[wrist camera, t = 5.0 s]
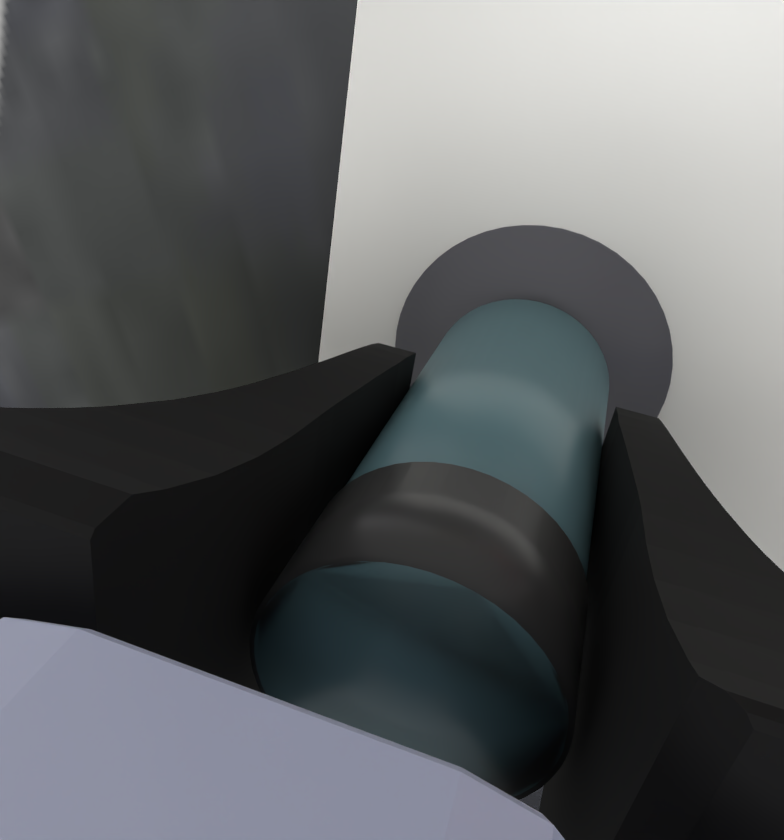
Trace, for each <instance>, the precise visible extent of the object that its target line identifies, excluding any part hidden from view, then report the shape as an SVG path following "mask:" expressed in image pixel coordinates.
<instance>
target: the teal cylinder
mask: <svg viewBox="0 0 784 840" xmlns="http://www.w3.org/2000/svg"><path fill="white" fill-rule="evenodd" d="M608 395H609V373H608V368H607V364H606V361H605V358H604V355H603V353H602V351H601V349H600V347H599V345H598V343H597V342H596V340H595V339H594V338H593V336H592V335H591V334H590V332H589V331H588V330H587V329H586V328H585V327H584V326H583V325H582V324H581V323H579V322H578V321H577V320H576V319H575V318H573V317H572V316H570V315H569V314H567V313H565V312H564V311H562V310H560V309H558V308H555V307H553V306H551V305H548V304H544V303H541V302H537V301H531V300H522V299H511V300H501V301H496V302H491V303H489V304H486V305H483V306H480V307H478V308H476V309H474V310H472V311H470V312H469V313H467V314H466V315H464V316H463V317H461V318H460V319H459V320H458V321H457V322H456V323H455V324H454V325H453V326H452V327H451V328H450V330H449V331H448V332H447V333H446V335H445V336H444V338H443V339H442V341H441V342H440V344H439V345H438V347H437V348H436V350H435V351H434V353H433V354H432V356H431V357H430V359H429V360H428V362H427V363H426V365H425V366H424V368H423V369H422V371H421V372H420V374H419V375H418V377H417V378H416V380H415V381H414V383H413V384H412V386H411V387H410V389H409V391H408V392H407V394H406V395H405V397H404V398H403V400H402V401H401V403H400V404H399V406H398V407H397V409H396V410H395V412H394V413H393V415H392V416H391V418H390V419H389V421H388V422H387V424H386V425H385V427H384V428H383V430H382V431H381V433H380V434H379V436H378V437H377V439H376V440H375V442H374V443H373V445H372V446H371V448H370V449H369V451H368V452H367V454H366V455H365V457H364V458H363V460H362V461H361V463H360V464H359V466H358V467H357V469H356V470H355V472H354V473H353V475H352V476H351V478H350V479H349V481H348V482H347V484H346V486H345V487H343V488H342V489H341V490H340V491H339V492H338V493H337V494H336V495H335V496H334V497H333V498H332V499H331V501H330V502H329V503H328V504H327V506H326V507H325V509H324V510H323V512H322V513H321V515H320V516H319V518H318V519H317V521H316V522H315V524H314V525H313V527H312V528H311V530H310V531H309V533H308V534H307V536H306V537H305V538H304V540H303V541H302V543H301V544H300V546H299V547H298V549H297V550H296V552H295V553H294V555H293V556H292V558H291V559H290V561H289V562H288V564H287V565H286V567H285V568H284V570H283V571H282V573H281V574H280V576H279V577H278V579H277V580H276V581H275V583H274V584H273V586H272V587H271V589H270V590H269V592H268V593H267V595H266V596H265V598H264V599H263V601H262V603H261V605H260V606H259V608H258V610H257V612H256V614H255V617H254V620H253V623H252V627H251V633H250V658H251V664H252V670H253V673H254V676H255V679H256V682H257V685H258V687H259V689H260V691H261V693H263V694H266V695H269V696H271V697H274V698H277V699H279V700H282V701H285V702H288V703H290V704H293V705H296V706H298V707H301V708H304V709H306V710H309V711H312V712H314V713H317V714H320V715H322V716H325V717H328V718H330V719H333V720H336V721H339V722H341V723H344V724H347V725H349V726H352V727H355V728H357V729H360V730H363V731H365V732H368V733H371V734H373V735H376V736H379V737H381V738H384V739H387V740H390V741H392V742H395V743H398V744H400V745H403V746H406V747H408V748H411V749H414V750H416V751H419V752H422V753H424V754H427V755H430V756H432V757H435V758H438V759H441V760H443V761H446V762H449V763H451V764H454V765H457V766H459V767H462V768H464V769H465V770H467V771H469V772H471V773H472V774H474V775H476V776H478V777H479V778H481V779H483V780H485V781H486V782H488V783H490V784H491V785H493V786H495V787H497V788H498V789H500V790H502V791H504V792H505V793H507V794H509V795H511V796H512V797H514V798H516V799H518V800H519V799H522V798H524V797H526V796H528V795H530V794H531V793H533V792H535V791H536V790H538V789H540V788H541V787H542V786H543V785H544V784H546V783H547V782H548V781H549V780H550V779H551V778H552V777H553V776H554V775H555V774H556V773H557V771H558V770H559V769H560V768H561V766H562V764H563V763H564V761H565V759H566V757H567V755H568V753H569V750H570V747H571V744H572V741H573V735H574V726H575V717H576V709H577V700H578V691H579V682H580V673H581V664H582V655H583V646H584V637H585V628H586V619H587V610H588V586H587V581H586V578H587V569H588V561H589V553H590V545H591V536H592V528H593V520H594V511H595V503H596V494H597V485H598V477H599V469H600V460H601V452H602V445H603V437H604V428H605V420H606V412H607V403H608Z"/></svg>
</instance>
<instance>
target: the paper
mask: <svg viewBox="0 0 784 840" xmlns="http://www.w3.org/2000/svg"><path fill="white" fill-rule="evenodd" d="M511 299H522V300H531V301H537V302H541V303H544V304H548V305H551V306H553V307H555V308H558V309H560V310H562V311H564V312H565V313H567V314H569V315H570V316H572V317H573V318H575V319H576V320H577V321H578V322H579V323H581V324H582V325H583V326H584V327H585V328H586V329H587V330H588V331H589V332H590V334H591V335H592V336H593V338H594V339H595V340H596V342H597V343H598V345H599V347H600V349H601V351H602V353H603V355H604V358H605V361H606V364H607V368H608V373H609V395H608V403H607V412H606V420H605V428H604V437H603V442H604V440H605V437H606V434H607V431H608V428H609V425H610V422H611V419H612V416H613V414H614V411H615V408H616V407H619V408H622V409H626V410H630V411H634V412H637V413H641V414H645V415H649V416H652V417H656V418H659V419H660V420H661V421H662V423H663V424H664V425H665V427H666V428H667V430H668V431H669V433H670V434H671V436H672V437H673V439H674V440H675V442H676V443H677V445H678V446H679V448H680V449H681V451H682V452H683V453H684V455H685V456H686V458H687V459H688V461H689V462H690V464H691V465H692V466H693V468H694V469H695V471H696V472H697V473H698V475H699V476H700V478H701V479H702V480H703V482H704V483H705V484H706V486H707V487H708V488H709V490H710V491H711V492H712V494H713V495H714V496H715V497H716V499H717V500H718V501H719V502H720V504H721V505H722V506H723V508H724V509H725V510H726V511H727V512H728V513H729V515H730V516H731V517H732V518H733V519H734V520H735V522H736V523H737V524H738V525H739V526H740V527H741V529H742V530H743V531H744V532H745V533H746V534H747V536H748V537H749V538H750V539H751V540H752V541H753V542H754V543H755V544H756V545H757V546H758V547H759V548H760V549H761V550H762V551H763V553H764V554H765V555H766V556H768V557H769V558H770V559H771V560H772V561H773V562H774V563H775V564H776V565H777V566H778V567H779V568H780V569H781V570H782V571H783V572H784V0H358V2H357V12H356V21H355V30H354V39H353V48H352V58H351V67H350V76H349V85H348V94H347V104H346V113H345V122H344V131H343V140H342V150H341V159H340V168H339V177H338V186H337V195H336V205H335V214H334V223H333V232H332V241H331V251H330V260H329V269H328V278H327V287H326V297H325V306H324V315H323V324H322V333H321V342H320V352H319V361H318V362H321V361H324V360H327V359H330V358H333V357H335V356H338V355H341V354H344V353H346V352H349V351H352V350H355V349H358V348H361V347H364V346H367V345H370V344H375V343H381V344H385V345H388V346H392V347H396V348H400V349H403V350H407V351H411V352H414V353H416V357H415V362H414V368H413V373H412V379H411V384H410V387H411V386H412V384H413V383H414V381H415V380H416V378H417V377H418V375H419V374H420V372H421V371H422V369H423V368H424V366H425V365H426V363H427V362H428V360H429V359H430V357H431V356H432V354H433V353H434V351H435V350H436V348H437V347H438V345H439V344H440V342H441V341H442V339H443V338H444V336H445V335H446V333H447V332H448V331H449V330H450V328H451V327H452V326H453V325H454V324H455V323H456V322H457V321H458V320H459V319H460V318H461V317H463V316H464V315H466V314H467V313H469V312H470V311H472V310H474V309H476V308H478V307H480V306H483V305H486V304H489V303H491V302H496V301H501V300H511Z"/></svg>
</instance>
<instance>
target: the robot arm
mask: <svg viewBox="0 0 784 840" xmlns="http://www.w3.org/2000/svg"><path fill="white" fill-rule="evenodd" d="M415 357H416V353H414V352H411V351H407V350H403V349H400V348H396V347H392V346H388V345H385V344H381V343H375V344H370V345H367V346H364V347H361V348H358V349H355V350H352V351H349V352H346V353H344V354H341V355H338V356H335V357H333V358H330V359H327V360H324V361H321V362H318V363H316V364H313V365H310V366H307V367H304V368H302V369H299V370H296V371H292V372H289V373H286V374H282V375H279V376H276V377H272V378H269V379H265V380H262V381H259V382H255V383H252V384H249V385H245V386H241V387H237V388H233V389H228V390H224V391H219V392H215V393H209V394H204V395H198V396H193V397H187V398H181V399H175V400H167V401H157V402H147V403H137V404H128V405H118V406H106V407H84V408H2V407H0V840H784V572H783V571H782V570H781V569H780V568H779V567H778V566H777V565H776V564H775V563H774V562H773V561H772V560H771V559H770V558H769V557H768V556H766V555H765V554H764V553H763V551H762V550H761V549H760V548H759V547H758V546H757V545H756V544H755V543H754V542H753V541H752V540H751V539H750V538H749V537H748V536H747V534H746V533H745V532H744V531H743V530H742V529H741V527H740V526H739V525H738V524H737V523H736V522H735V520H734V519H733V518H732V517H731V516H730V515H729V513H728V512H727V511H726V510H725V509H724V508H723V506H722V505H721V504H720V502H719V501H718V500H717V499H716V497H715V496H714V495H713V494H712V492H711V491H710V490H709V488H708V487H707V486H706V484H705V483H704V482H703V480H702V479H701V478H700V476H699V475H698V473H697V472H696V471H695V469H694V468H693V466H692V465H691V464H690V462H689V461H688V459H687V458H686V456H685V455H684V453H683V452H682V451H681V449H680V448H679V446H678V445H677V443H676V442H675V440H674V439H673V437H672V436H671V434H670V433H669V431H668V430H667V428H666V427H665V425H664V424H663V423H662V421H661V420H660V419H659V418H656V417H652V416H649V415H645V414H641V413H637V412H634V411H630V410H626V409H622V408H619V407H616V408H615V411H614V414H613V416H612V419H611V422H610V425H609V428H608V431H607V434H606V437H605V440H604V442H603V445H602V452H601V460H600V469H599V477H598V485H597V494H596V503H595V511H594V520H593V528H592V536H591V545H590V553H589V561H588V569H587V578H586V581H587V586H588V610H587V619H586V628H585V637H584V646H583V655H582V664H581V673H580V682H579V691H578V700H577V709H576V717H575V726H574V735H573V741H572V744H571V747H570V750H569V753H568V755H567V757H566V759H565V761H564V763H563V764H562V766H561V768H560V769H559V770H558V771H557V773H556V774H555V775H554V776H553V777H552V778H551V779H550V780H549V781H548V782H547V783H546V784H544V788H543V794H542V799H541V804H540V810H539V812H538V811H537V810H535V809H533V808H531V807H530V806H528V805H526V804H524V803H523V802H521V801H519V800H518V799H516V798H514V797H512V796H511V795H509V794H507V793H505V792H504V791H502V790H500V789H498V788H497V787H495V786H493V785H491V784H490V783H488V782H486V781H485V780H483V779H481V778H479V777H478V776H476V775H474V774H472V773H471V772H469V771H467V770H465V769H464V768H462V767H459V766H457V765H454V764H451V763H449V762H446V761H443V760H441V759H438V758H435V757H432V756H430V755H427V754H424V753H422V752H419V751H416V750H414V749H411V748H408V747H406V746H403V745H400V744H398V743H395V742H392V741H390V740H387V739H384V738H381V737H379V736H376V735H373V734H371V733H368V732H365V731H363V730H360V729H357V728H355V727H352V726H349V725H347V724H344V723H341V722H339V721H336V720H333V719H330V718H328V717H325V716H322V715H320V714H317V713H314V712H312V711H309V710H306V709H304V708H301V707H298V706H296V705H293V704H290V703H288V702H285V701H282V700H279V699H277V698H274V697H271V696H269V695H266V694H263V693H261V691H260V689H259V687H258V685H257V682H256V679H255V676H254V673H253V670H252V664H251V658H250V633H251V627H252V623H253V620H254V617H255V614H256V612H257V610H258V608H259V606H260V605H261V603H262V601H263V599H264V598H265V596H266V595H267V593H268V592H269V590H270V589H271V587H272V586H273V584H274V583H275V581H276V580H277V579H278V577H279V576H280V574H281V573H282V571H283V570H284V568H285V567H286V565H287V564H288V562H289V561H290V559H291V558H292V556H293V555H294V553H295V552H296V550H297V549H298V547H299V546H300V544H301V543H302V541H303V540H304V538H305V537H306V536H307V534H308V533H309V531H310V530H311V528H312V527H313V525H314V524H315V522H316V521H317V519H318V518H319V516H320V515H321V513H322V512H323V510H324V509H325V507H326V506H327V504H328V503H329V502H330V501H331V499H332V498H333V497H334V496H335V495H336V494H337V493H338V492H339V491H340V490H341V489H342V488H343V487H345V486H346V484H347V482H348V481H349V479H350V478H351V476H352V475H353V473H354V472H355V470H356V469H357V467H358V466H359V464H360V463H361V461H362V460H363V458H364V457H365V455H366V454H367V452H368V451H369V449H370V448H371V446H372V445H373V443H374V442H375V440H376V439H377V437H378V436H379V434H380V433H381V431H382V430H383V428H384V427H385V425H386V424H387V422H388V421H389V419H390V418H391V416H392V415H393V413H394V412H395V410H396V409H397V407H398V406H399V404H400V403H401V401H402V400H403V398H404V397H405V395H406V394H407V392H408V391H409V389H410V384H411V379H412V373H413V368H414V362H415Z"/></svg>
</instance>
